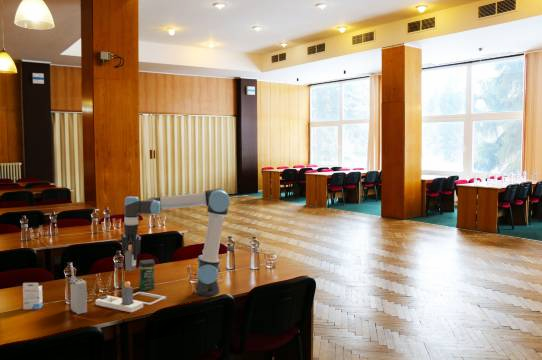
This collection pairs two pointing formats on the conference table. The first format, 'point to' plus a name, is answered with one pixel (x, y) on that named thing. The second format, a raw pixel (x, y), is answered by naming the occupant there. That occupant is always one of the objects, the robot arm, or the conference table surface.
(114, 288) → the conference table surface
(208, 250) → the robot arm
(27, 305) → the ink box
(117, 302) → the strip
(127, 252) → the grey bottle
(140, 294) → the tray
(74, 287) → the jerry can
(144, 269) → the coffee jar
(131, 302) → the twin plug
